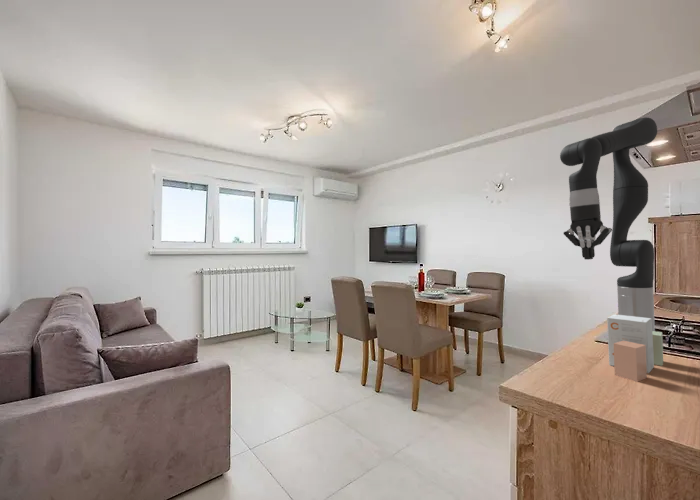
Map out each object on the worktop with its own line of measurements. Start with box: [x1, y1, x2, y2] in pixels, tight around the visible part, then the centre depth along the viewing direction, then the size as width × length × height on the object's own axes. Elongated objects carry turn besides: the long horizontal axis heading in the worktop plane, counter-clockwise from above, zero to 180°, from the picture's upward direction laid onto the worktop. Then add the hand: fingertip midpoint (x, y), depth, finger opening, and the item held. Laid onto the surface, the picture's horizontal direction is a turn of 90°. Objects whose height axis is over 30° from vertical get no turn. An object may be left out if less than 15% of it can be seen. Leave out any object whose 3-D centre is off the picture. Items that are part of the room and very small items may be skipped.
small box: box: [606, 313, 655, 374], centre depth 84 cm, size 8×6×13 cm
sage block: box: [652, 330, 664, 367], centre depth 86 cm, size 4×4×8 cm
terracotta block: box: [613, 341, 648, 383], centre depth 78 cm, size 4×4×8 cm
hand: (588, 259), depth 99 cm, fingers closed
